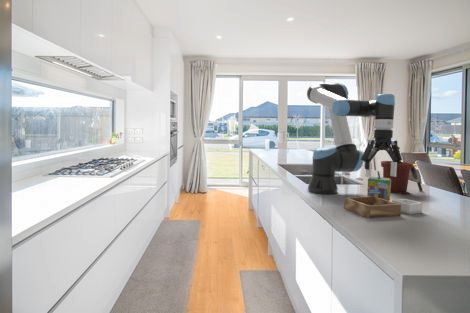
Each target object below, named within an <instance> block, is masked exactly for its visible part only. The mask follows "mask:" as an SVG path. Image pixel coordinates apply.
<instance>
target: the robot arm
mask: <svg viewBox="0 0 470 313" xmlns="http://www.w3.org/2000/svg"><path fill="white" fill-rule="evenodd" d="M306 96H307V99H308V100H309V102H312V103H314V104H320V105H321V106H324V108H325V109H326V110H328V113H329V118H330V123H331V129H332V132H333V138H334V142H335V147H334V146H326V147H318V148H316V149H314V150H313V152H312V153H313V154H312V165H311V166H312V168H311V171H312V172H311V173H312V174H311V178H310V181H309V183H308V186H307V191H308V192H311V193H314V194H321V195H322V194H323V195H334V194H337V193H338V190H339V189H338V185H337V182H336V177H335V175H336V172H339V173H342V172H343V173H347V172H348V173H352V172H358V171H360V169H361V168H362V167H363V164H364V169H365V177H367V178H370V177H372V164H373V163H372V160H373V158H374V157H375V156H376V155H377V153H378V152H380V151H385V152H386V153H387V155H388V156H389V157H390V159H391V161H393V162H391V172H390V176H394V177H396V170H397V168H398V162H400V161H401V162H403V157H402V155H401V151H400V149H399V148H400V147H399V146H398V139H397V140H392V138H394V137H393V134H394V133H393V132H394V130H393V129H394V116H395V107H396V106H395V105H396V103H395V99H396V98H395V95H394V94H393V93H380V94H376V97H375V100H364V99H363V100H361V99H360V100H358V99H357V100H355V99H349V90H348V88H347V86H346V85H345V84H343V83H337V82H336V83H333V82H331V83H330V82H320V81H319V82H315V83H313V84H311V85H310V86H309V87H308V88H307V91H306ZM348 117H363V118H373V117H374V126H373V127H374V129H375V130H374V131H373V138H374V139H369V140H368V142H367V145H366V147H365V150H364V152H363V151H361V149H360V150H359V149H358V147H357V145H356V144H355V143H353V140H352V135H351V131H350V128H349V126H350V125H349V122H348V119H347V118H348ZM398 147H399V148H398Z"/></svg>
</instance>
